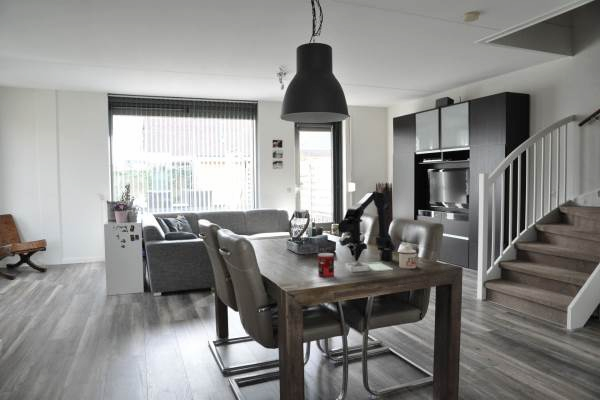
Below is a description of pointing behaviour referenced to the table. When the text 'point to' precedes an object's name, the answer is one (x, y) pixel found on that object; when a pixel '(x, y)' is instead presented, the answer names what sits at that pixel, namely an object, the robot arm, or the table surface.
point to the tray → (378, 266)
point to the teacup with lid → (407, 258)
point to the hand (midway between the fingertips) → (355, 260)
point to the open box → (355, 269)
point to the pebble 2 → (358, 264)
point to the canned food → (326, 265)
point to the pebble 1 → (354, 258)
